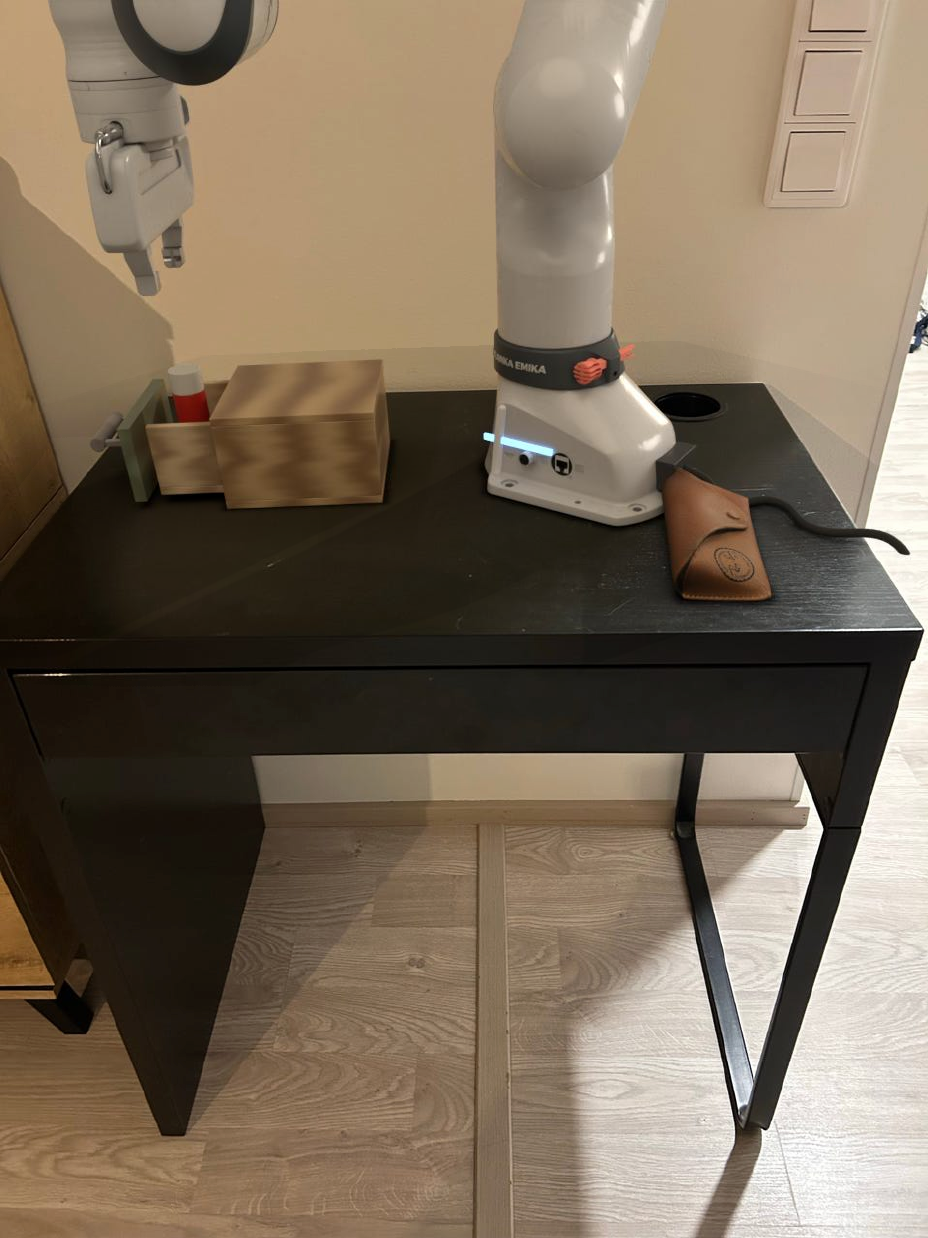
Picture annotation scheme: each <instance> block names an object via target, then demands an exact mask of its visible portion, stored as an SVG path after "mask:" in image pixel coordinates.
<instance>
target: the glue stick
mask: <svg viewBox="0 0 928 1238" xmlns="http://www.w3.org/2000/svg"><path fill="white" fill-rule="evenodd" d="M166 373H167V376H168V381H169V386H170V390H171V394H172V399H173V403H174V407H175V413H176V417H177V421H178V422H177V423H193V422H210V421H209V418H210V413H209V409H208V404H207V399H206V394H205V389H204V384H203V381H204V380H203V374H202V370H201V366H200V365H199V364H195V363H180V364H176V365H174V366H172V367H169V368H168V369H167V372H166Z"/></svg>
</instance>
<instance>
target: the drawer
mask: <svg viewBox="0 0 928 1238" xmlns="http://www.w3.org/2000/svg"><path fill="white" fill-rule="evenodd" d="M229 381H230V379H224V380H223V379H222V380H203V384H204V389H205V394H206V399H207V404H208V409H209V413H210V417H211V415H212V413H213V411H214V409H215V407H216V405H217V403H218V402H219V400H220V398H221V396H222V394H223V392H224V390H225V389H226V387H227V385H228V383H229ZM170 404H171V403H170V401H169V395H168V392H167V387H166V383H165V379H164V378H152V380H151V381H150V382H149V384H148V385H147V387H146V388H145V390H143V392H142V393H141V395H140V396H139V397H138V399H137V401H136V402H135V403H134V405H133V406H132V408H131V409H130V410H129V411H128V413H127V414H126V415H123V413H121V412H120V411H113V412H111V413H110V414H109V416H108V417H107V419H106V420H105V421H104V422H103V423H102V425H101V426H100V427H99V429H98V430H97V432H95V434H94V436H92V438H91V439H90V441H89V446H90V448H91V450H92V451H94V452H97V453H102V452H103V451H105V449H106V448H112V447H114V448H115V447H121V451H122V456H123V459H124V463H125V466H126V471H127V475H128V477H129V481H130V482H129V483H130V486H131V490H132V493H133V497H134V500H135V503H139V502H141V503H143V502H148V501H149V499H150V497H152V494H153V493H154V490H155V489H156V487H157V485H159V490H160V494H161V496H164V495H165V496H167V495H169V496H170V495H189V494H190V495H191V494H213V493H214V494H217V493H224V490H223V485H222V480H221V475H220V470H219V465H218V460H217V456H216V451H215V446H214V441H213V436H212V431H211V426H210V422H193V423H179V422H174V419H173V418H174V417H173V414H172V409H171V405H170ZM116 434H117V436H118V438H114V437H115V436H116Z"/></svg>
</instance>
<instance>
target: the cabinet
mask: <svg viewBox="0 0 928 1238" xmlns="http://www.w3.org/2000/svg"><path fill="white" fill-rule="evenodd" d="M384 369H385V368H384V361H383V359H381V358H379V359H361V360H360V359H358V360H336V361H335V360H334V361H333V360H332V361H312V362H311V361H310V362H290V363H289V362H288V363H287V362H286V363H265V364H263V363H262V364H241V365H237V366H236V368H235V370H234V372H233V373H232V376H231V377H230V379H229V380H230V381H229V383H228V385H227V387H226V389H225V390H224V392H223V394H222V396H221V398H220V400H219V402H218V403H217V405H216V407H215V409H214V411H213V413H212V415H211V417H210V418H209V421H210V426H211V431H212V436H213V441H214V446H215V451H216V456H217V460H218V465H219V470H220V475H221V480H222V485H223V490H224V492H223V494H224V499H225V505H226V509H227V510H234V509H236V510H237V509H254V508H255V509H258V508H259V509H260V508H283V507H305V506H307V507H309V506H310V507H311V506H332V505H357V504H358V505H359V504H379V503H380V504H381V503H383V501H384V499H383V498H384V493H385V492H384V491H385V485H386V484H385V483H386V477H387V476H386V475H387V468H388V463H389V461H388V460H389V454H390V447H391V446H390V445H391V437H390V435H391V434H390V427H389V425H390V424H389V415H388V414H389V413H388V405H387V404H388V403H387V394H386V393H387V391H386V381H385V371H384Z"/></svg>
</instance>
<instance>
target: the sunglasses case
mask: <svg viewBox="0 0 928 1238" xmlns="http://www.w3.org/2000/svg"><path fill="white" fill-rule="evenodd" d="M661 492H662V501H663V507H664V513H663V514H664V522H665V528H666V536H667V543H668V544H667V545H668V552H669V561H670V569H671V572H670V574H671V577H672V578H671V579H672V583H673V586H674V589H675V591H677V593H678V594H679V595H680V597H682V599H685V600H689V601H703V602H711V603H712V602H713V603H739V602H759V601H760V602H761V601H765V600H768V599H770V598H771V597H772V589H771V584H770V581H769V577H768V575H767V572H766V568H765V566H764V565H765V564H764V561H763V559H762V555H761V552H760V549H759V545H758V541H757V537H756V532H755V529H754V525H753V521H752V517H751V516H752V515H751V512H750V511H751V510H750V506H749V502H748V498H749V497H746V496H743V495H742V494H739V493H735V492H733V491H730V490H728V489H724V488H723V487H720V486H718V485H716V486H715V485H712V484H710V483H707V482H704V481H702V480H700V479H699V478H697V477H696V476H693V474H691V473H689V472H687V471H685V470H683V469H681V468H677V469H676V470H675V472H674V474H673V475H671V476H670V477H669V478H668V479H667V480H666V481H665V482H664V484H663V486H662V490H661Z"/></svg>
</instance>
